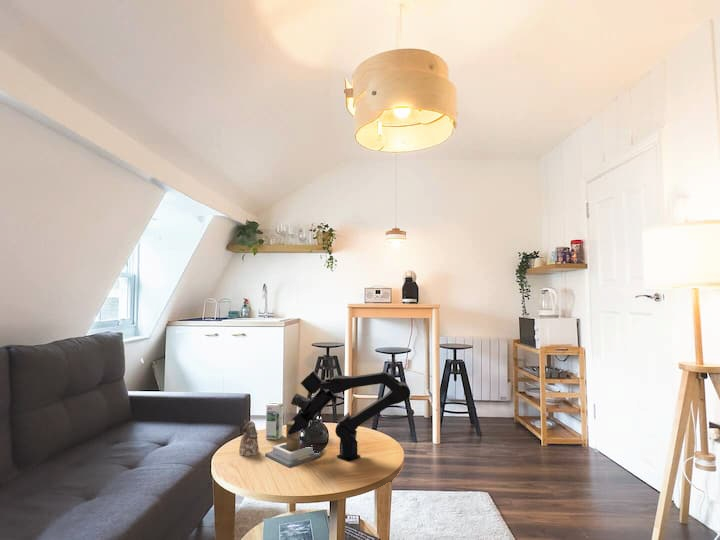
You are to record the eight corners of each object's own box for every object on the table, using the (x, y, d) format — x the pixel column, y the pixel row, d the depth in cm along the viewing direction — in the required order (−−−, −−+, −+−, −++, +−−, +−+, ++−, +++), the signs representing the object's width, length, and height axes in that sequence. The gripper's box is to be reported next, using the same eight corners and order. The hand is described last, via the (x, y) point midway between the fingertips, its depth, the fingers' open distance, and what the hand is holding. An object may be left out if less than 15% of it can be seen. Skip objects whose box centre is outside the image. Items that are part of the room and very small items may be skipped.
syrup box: (265, 439, 173) (266, 404, 174) (270, 434, 178) (271, 401, 180) (278, 440, 172) (278, 405, 173) (282, 435, 178) (283, 401, 179)
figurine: (247, 457, 152) (248, 424, 153) (235, 453, 156) (236, 421, 157) (262, 451, 158) (262, 420, 159) (249, 448, 162) (250, 417, 163)
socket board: (320, 455, 154) (321, 446, 155) (288, 467, 144) (288, 457, 144) (296, 446, 165) (297, 437, 165) (265, 456, 154) (265, 446, 154)
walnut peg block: (300, 447, 156) (300, 420, 157) (298, 451, 152) (298, 424, 153) (288, 447, 157) (289, 420, 157) (286, 451, 152) (286, 424, 153)
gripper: (308, 382, 165) (281, 409, 165) (299, 392, 147) (268, 423, 146) (327, 402, 164) (300, 429, 164) (320, 415, 146) (290, 446, 145)
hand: (290, 431), depth 155 cm, fingers closed on walnut peg block, 4 cm apart
